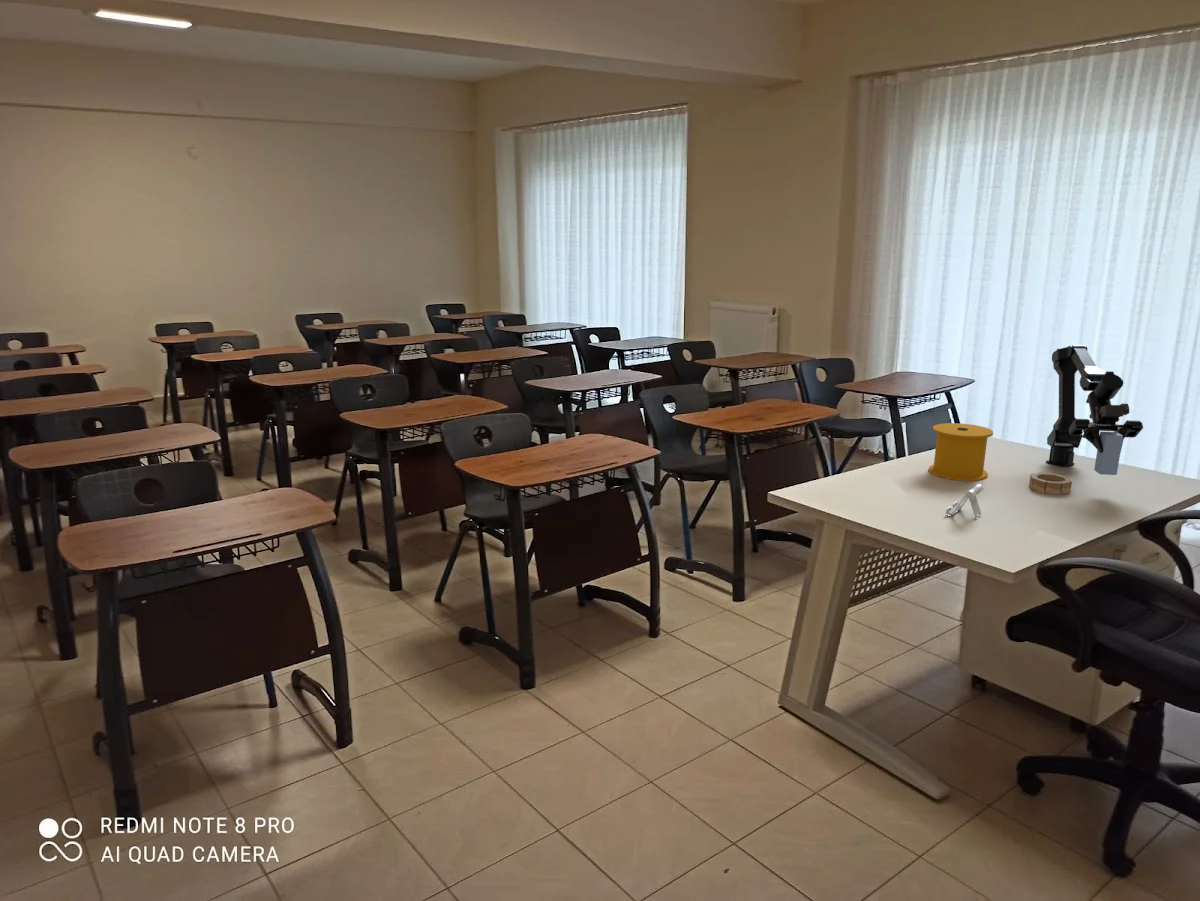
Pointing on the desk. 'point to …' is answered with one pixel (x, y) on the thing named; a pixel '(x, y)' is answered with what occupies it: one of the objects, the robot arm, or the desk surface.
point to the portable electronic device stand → (969, 495)
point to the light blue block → (1109, 453)
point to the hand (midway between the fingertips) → (1110, 452)
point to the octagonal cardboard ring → (1050, 483)
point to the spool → (960, 451)
